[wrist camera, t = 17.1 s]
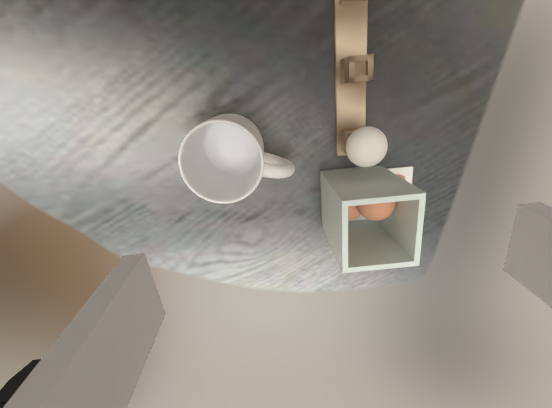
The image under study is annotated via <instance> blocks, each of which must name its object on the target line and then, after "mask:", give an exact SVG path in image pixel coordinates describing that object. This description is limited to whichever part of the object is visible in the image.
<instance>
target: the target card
mask: <svg viewBox="0 0 552 408" xmlns="http://www.w3.org/2000/svg"><path fill="white" fill-rule="evenodd" d="M386 169H388V170H389V171H391V172H393V173H394V174H396V175H398V176H399V177H401V178H403V179H404V180H406V181H407V182H409V183H411V184H412V175H413V166H407V167H397V168H386Z"/></svg>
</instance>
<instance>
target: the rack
mask: <svg viewBox="0 0 552 408" xmlns="http://www.w3.org/2000/svg"><path fill="white" fill-rule="evenodd" d="M367 10H368V0H334V37H335V98H336V155H337V156H343V155H347V154H346V142H347V139H348V137H349V136H350V135H351V133H352V132H353V131H355V130H356V129H358V128H361V127H365V118H366V81H373V65H374V54H367Z"/></svg>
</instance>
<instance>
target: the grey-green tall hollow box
mask: <svg viewBox="0 0 552 408" xmlns="http://www.w3.org/2000/svg"><path fill="white" fill-rule="evenodd" d="M320 192H321V218H322V227H323V230H324V232H325V234H326V236H327V239H328V241H329V243H330V246H331V248H332V250H333V252H334V255H335V257H336V259H337V261H338V264H339V266H340V268H341V271H342V273H349V272H359V271H370V270H380V269H390V268H400V267H410V266H419V262H420V252H421V241H422V231H423V221H424V211H425V201H426V193H425V192H424V191H422V190H421V189H419V188H417V187H416V186H414V185H412V184H411V183H409V182H407V181H406V180H404V179H403V178H401V177H399V176H398V175H396V174H394V173H393V172H391V171H389V170H388V169H386V168H384V167H383V166H381V165H374V166H371V167H352V168H342V169H332V170H322V171H320ZM388 202H395V208H394V210H393V212H392V213H391V215H390V216H388V217H387V218H385V219H383V220H380V221H372V220H369V219H366V218H365V217H363V216H362V215H361V216H360V217H358V218H357V219H355V220H352V221H348V206H357V205H367V204H378V203H388Z"/></svg>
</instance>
